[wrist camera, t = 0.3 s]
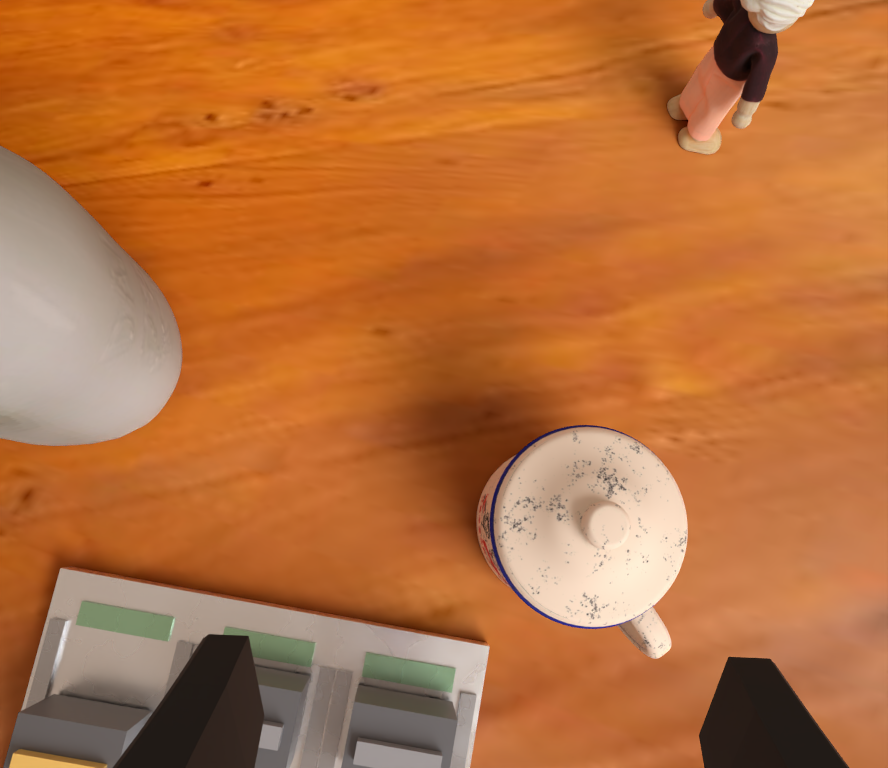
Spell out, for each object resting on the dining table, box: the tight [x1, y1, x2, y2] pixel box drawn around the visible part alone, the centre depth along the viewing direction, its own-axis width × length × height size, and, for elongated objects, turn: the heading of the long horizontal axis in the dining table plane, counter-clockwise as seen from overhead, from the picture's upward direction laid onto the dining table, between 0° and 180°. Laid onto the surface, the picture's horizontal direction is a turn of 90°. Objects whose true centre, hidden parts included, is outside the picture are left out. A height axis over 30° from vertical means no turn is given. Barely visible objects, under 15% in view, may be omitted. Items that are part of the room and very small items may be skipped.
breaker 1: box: [255, 666, 310, 768], centre depth 35 cm, size 4×5×4 cm
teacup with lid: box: [476, 425, 688, 658], centre depth 35 cm, size 12×9×12 cm
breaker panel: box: [21, 566, 490, 768], centre depth 37 cm, size 16×23×2 cm
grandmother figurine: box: [667, 0, 814, 154], centre depth 40 cm, size 8×4×13 cm, turn 23°
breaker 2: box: [341, 685, 458, 768], centre depth 35 cm, size 4×5×4 cm
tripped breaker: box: [3, 694, 152, 768], centre depth 34 cm, size 4×5×4 cm
